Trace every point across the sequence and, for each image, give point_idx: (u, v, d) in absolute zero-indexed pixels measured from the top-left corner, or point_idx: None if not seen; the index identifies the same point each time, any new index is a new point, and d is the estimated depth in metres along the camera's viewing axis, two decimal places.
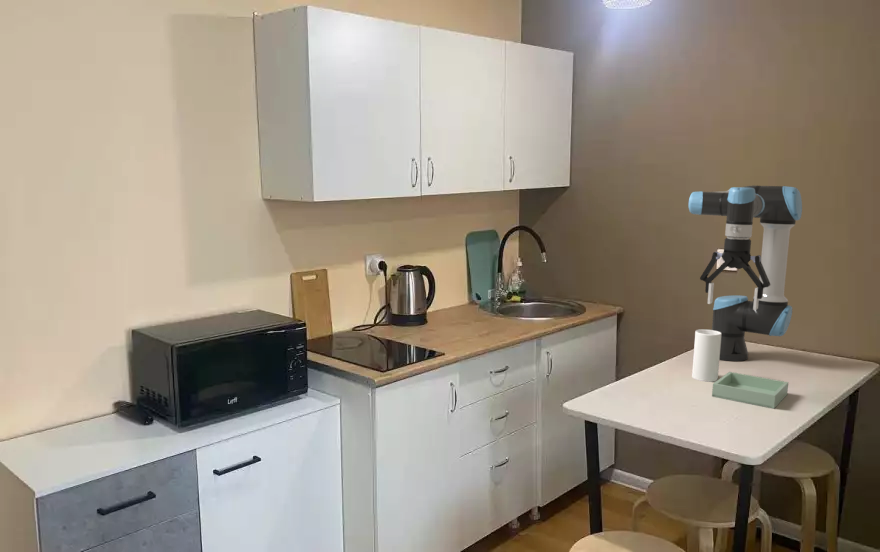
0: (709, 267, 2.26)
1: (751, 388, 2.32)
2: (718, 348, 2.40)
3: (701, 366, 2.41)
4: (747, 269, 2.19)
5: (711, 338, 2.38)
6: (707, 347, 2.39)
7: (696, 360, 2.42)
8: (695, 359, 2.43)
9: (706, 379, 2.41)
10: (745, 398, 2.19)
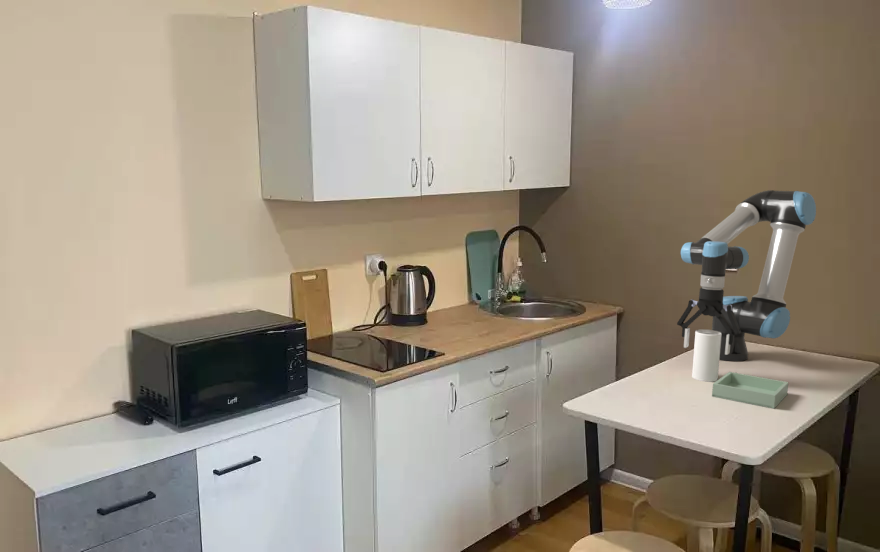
0: (685, 314, 2.45)
1: (751, 388, 2.32)
2: (718, 348, 2.40)
3: (701, 366, 2.41)
4: (720, 317, 2.38)
5: (711, 338, 2.38)
6: (707, 347, 2.39)
7: (696, 360, 2.42)
8: (695, 359, 2.43)
9: (706, 379, 2.41)
10: (745, 398, 2.19)
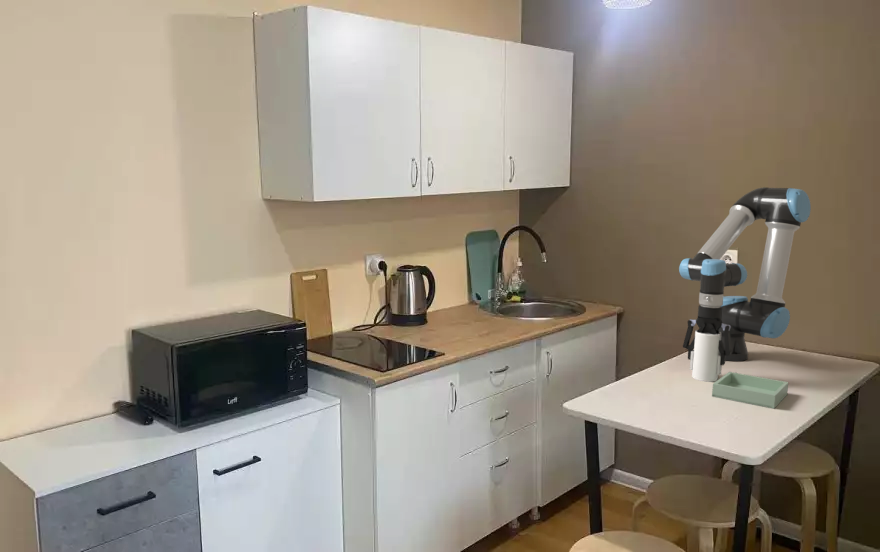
0: (688, 334, 2.45)
1: (751, 388, 2.32)
2: None
3: (701, 366, 2.41)
4: None
5: (711, 338, 2.38)
6: (707, 347, 2.39)
7: (696, 360, 2.42)
8: (695, 359, 2.43)
9: (706, 379, 2.41)
10: (745, 398, 2.19)
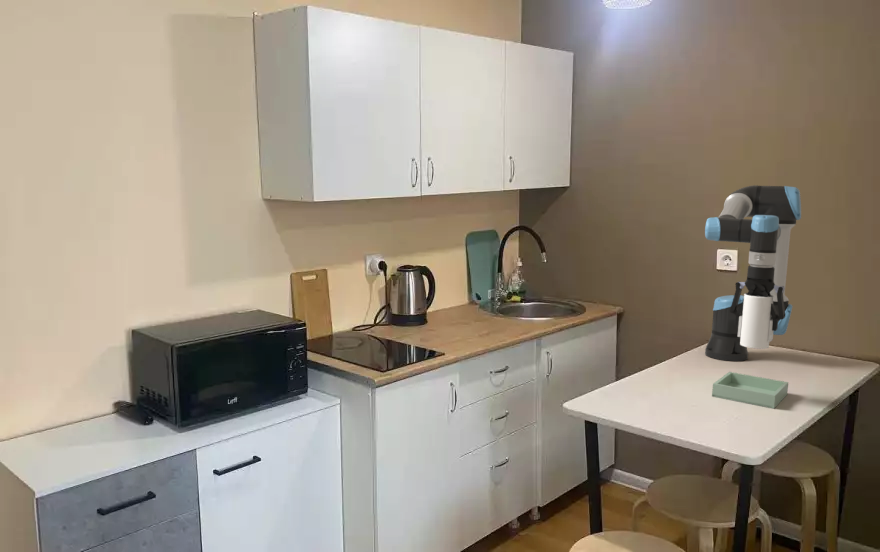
0: (736, 298, 2.25)
1: (751, 388, 2.32)
2: None
3: (751, 332, 2.20)
4: None
5: (762, 301, 2.18)
6: (758, 311, 2.19)
7: (745, 325, 2.22)
8: (744, 324, 2.22)
9: (757, 346, 2.20)
10: (745, 398, 2.19)
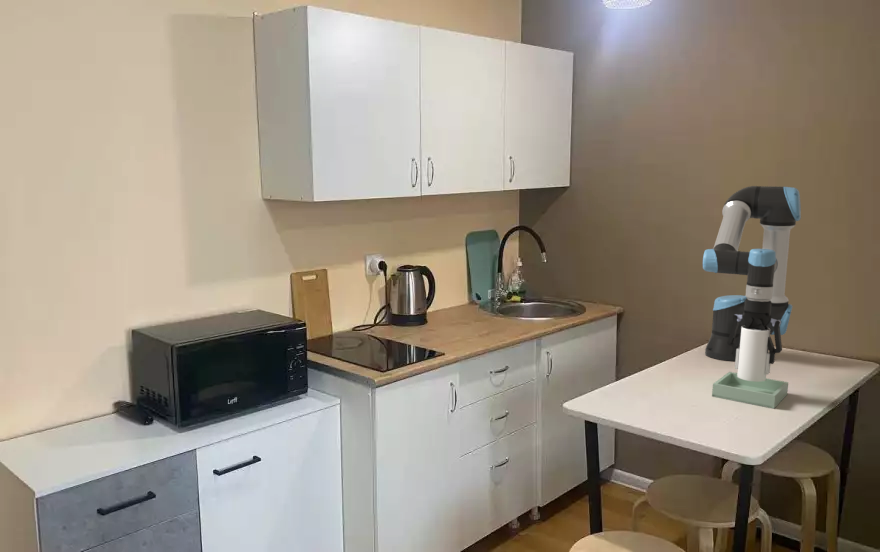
0: (733, 331, 2.26)
1: (751, 388, 2.32)
2: None
3: (748, 365, 2.22)
4: None
5: (759, 334, 2.19)
6: (755, 344, 2.20)
7: (742, 358, 2.23)
8: (741, 357, 2.24)
9: (754, 379, 2.22)
10: (745, 398, 2.19)
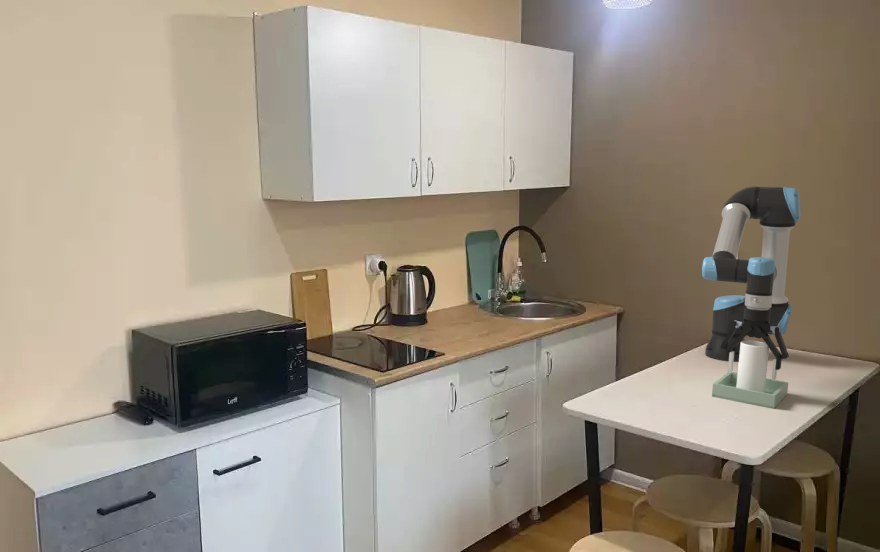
0: (729, 336, 2.27)
1: None
2: (766, 361, 2.22)
3: (747, 380, 2.23)
4: (766, 339, 2.21)
5: (758, 350, 2.20)
6: (754, 359, 2.21)
7: (741, 373, 2.24)
8: (740, 372, 2.25)
9: None
10: (745, 398, 2.19)
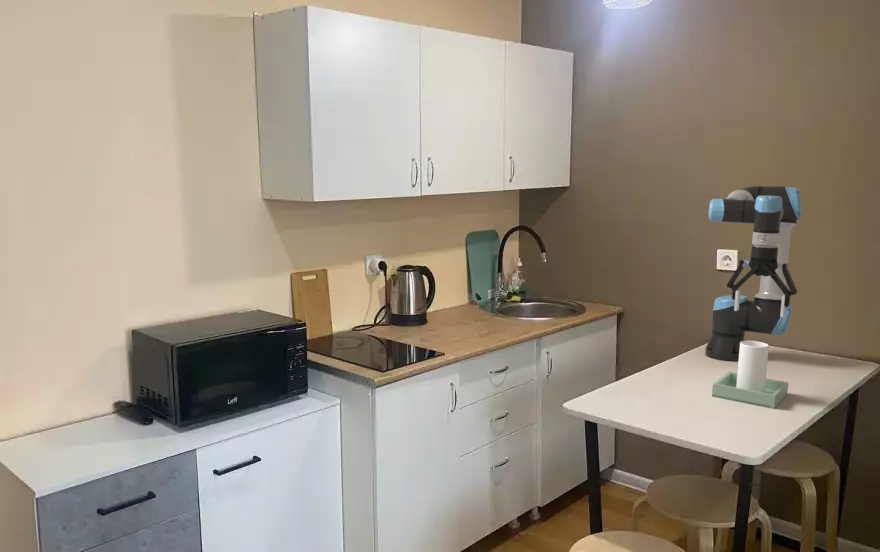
0: (736, 274, 2.28)
1: None
2: (765, 361, 2.22)
3: (747, 381, 2.23)
4: (774, 277, 2.21)
5: (758, 350, 2.20)
6: (754, 360, 2.21)
7: (741, 374, 2.24)
8: (740, 373, 2.25)
9: None
10: (745, 398, 2.19)
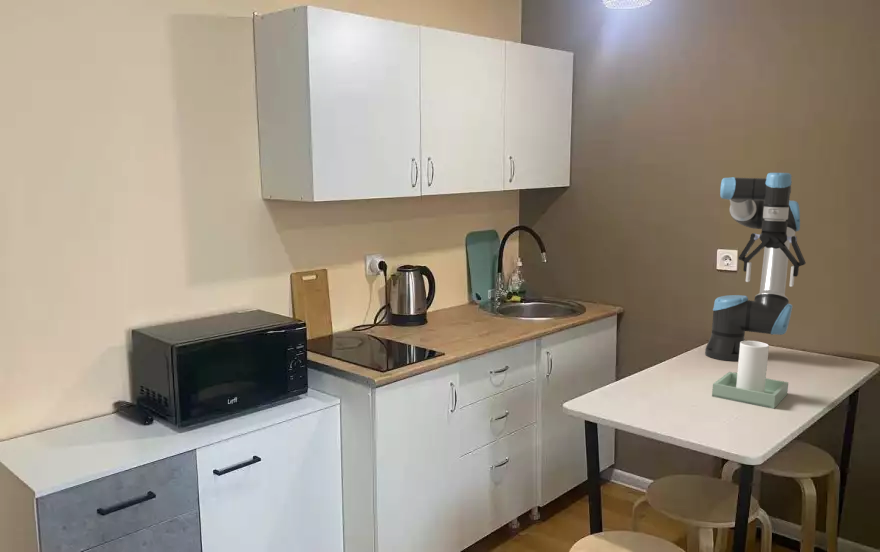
0: (747, 247, 2.42)
1: None
2: (765, 361, 2.22)
3: (747, 381, 2.23)
4: (784, 249, 2.35)
5: (758, 350, 2.20)
6: (754, 360, 2.21)
7: (741, 374, 2.24)
8: (740, 373, 2.25)
9: None
10: (745, 398, 2.19)
